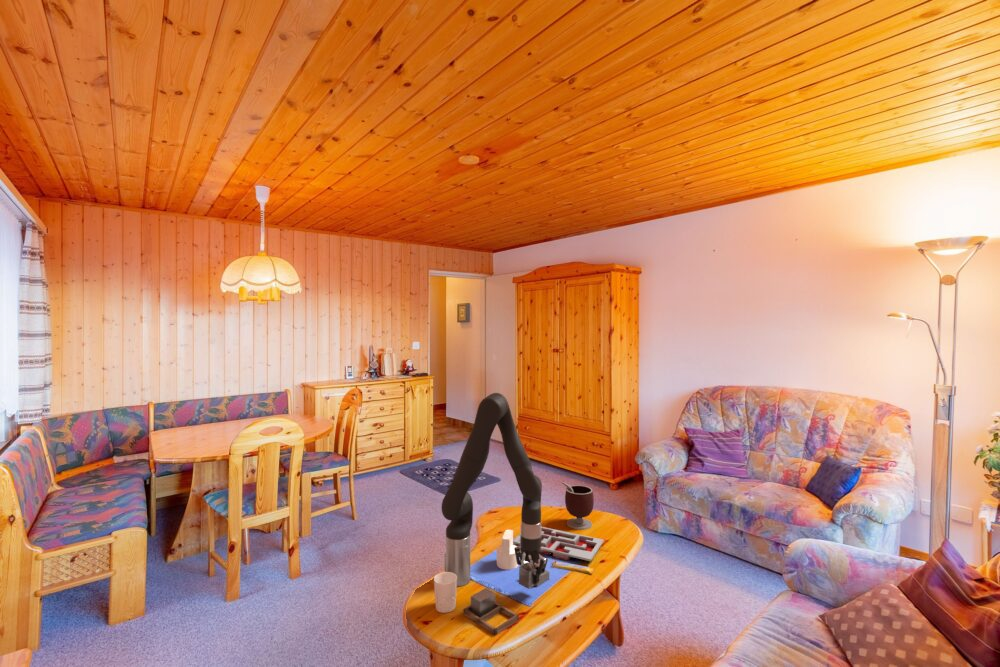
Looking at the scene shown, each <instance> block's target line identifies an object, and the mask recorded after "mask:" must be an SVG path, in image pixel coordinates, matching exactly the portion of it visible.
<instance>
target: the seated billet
mask: <svg viewBox="0 0 1000 667" xmlns="http://www.w3.org/2000/svg"><path fill="white" fill-rule="evenodd" d="M495 602H496V593H495V592H494V591H492V590H490V589H489V588H487V587H485V588H483V589H482V590H480V591H478V592H476V593H475V594H473V595H470V605H471V612H472V613H473V614H475V615H476V616H478V617H479V618H480V617H482V616H484V615H485V614H487V613H489V612H490V611H492V610H493V609H495Z"/></svg>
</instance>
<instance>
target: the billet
mask: <svg viewBox="0 0 1000 667" xmlns="http://www.w3.org/2000/svg"><path fill="white" fill-rule="evenodd" d="M534 564H535V563H534ZM518 569H519V570H518V574H519V575H518V584H519V585H520V586H523V587H524V588H526V589H527V590H530V589H531V588H533V587H534V586H535V585H534V584H533V574H534V573H533V568H531V563H529V562H528V563H525V565H522V566H520V565H519V566H518ZM536 570H537V567H536ZM540 581H541V575H539V582H540ZM539 582H538V583H539Z"/></svg>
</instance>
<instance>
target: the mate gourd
mask: <svg viewBox="0 0 1000 667" xmlns="http://www.w3.org/2000/svg"><path fill="white" fill-rule="evenodd" d="M561 484H563V485H564V486H565V487H566V488H565V489H566V490H565V495H564V503H565V508H566V511H567V512H568V513H569V515H570V516H573V517H574V518H573V517H572V518H570V519H568V520H567V521H566V525H567V526H568V527H569V528H570V529H573V530H579V531H581V530H588V529H591V528H592V527H593V522H592V521H591V520H589V519H587V517H588V516H590V514H591V513H592V512H593V510H594V500H595V498H594V492H593V489H592V488H591V487H590V486H586V485H582V484H581V485H580V484H578V485H577V484H575V485H569V484H568V483H566V482H564V481H562V482H561Z"/></svg>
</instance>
